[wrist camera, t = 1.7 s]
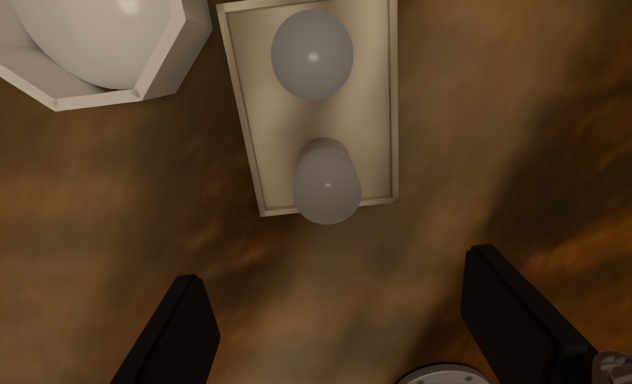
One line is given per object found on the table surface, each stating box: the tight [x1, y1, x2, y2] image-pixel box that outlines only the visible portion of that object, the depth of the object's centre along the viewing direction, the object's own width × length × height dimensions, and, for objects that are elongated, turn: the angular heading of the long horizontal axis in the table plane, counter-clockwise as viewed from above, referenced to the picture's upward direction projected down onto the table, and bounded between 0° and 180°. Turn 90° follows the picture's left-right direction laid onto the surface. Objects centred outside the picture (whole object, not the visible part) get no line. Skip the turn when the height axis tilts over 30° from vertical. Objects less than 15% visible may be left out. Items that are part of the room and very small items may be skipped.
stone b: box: [271, 9, 354, 100], centre depth 19 cm, size 4×4×6 cm
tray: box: [216, 0, 399, 217], centre depth 23 cm, size 12×16×1 cm
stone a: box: [293, 137, 362, 225], centre depth 22 cm, size 4×4×6 cm
